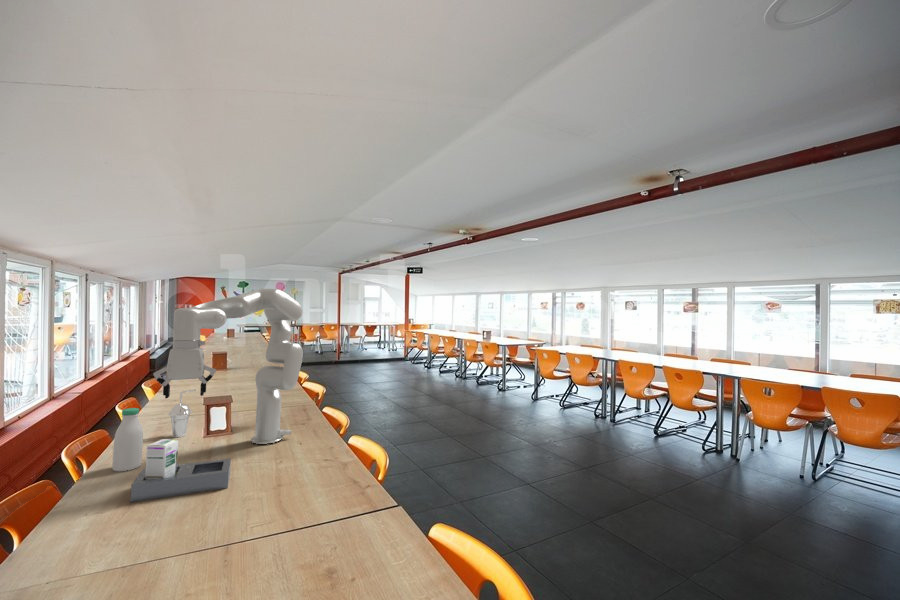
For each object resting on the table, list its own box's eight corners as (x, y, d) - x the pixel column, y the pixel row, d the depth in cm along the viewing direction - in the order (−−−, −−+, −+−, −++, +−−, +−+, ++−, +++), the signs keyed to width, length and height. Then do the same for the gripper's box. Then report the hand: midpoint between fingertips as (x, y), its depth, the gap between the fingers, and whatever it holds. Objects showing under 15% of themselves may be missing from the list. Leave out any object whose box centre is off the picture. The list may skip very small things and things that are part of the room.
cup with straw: (178, 432, 171) (181, 387, 171) (196, 433, 169) (199, 388, 170) (161, 438, 162) (164, 390, 163) (180, 439, 161) (183, 392, 162)
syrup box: (163, 494, 114) (166, 445, 114) (143, 493, 114) (146, 444, 114) (176, 486, 120) (179, 439, 120) (157, 485, 120) (160, 438, 120)
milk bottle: (143, 467, 132) (147, 409, 133) (113, 474, 126) (117, 413, 127) (139, 461, 137) (142, 405, 138) (110, 467, 132) (114, 408, 132)
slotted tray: (230, 473, 130) (231, 458, 130) (227, 488, 119) (228, 471, 120) (141, 485, 119) (142, 468, 120) (130, 502, 109) (131, 484, 109)
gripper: (217, 343, 135) (216, 391, 135) (157, 344, 127) (155, 396, 127) (215, 345, 129) (214, 396, 128) (151, 347, 121) (150, 401, 120)
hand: (185, 396), depth 128 cm, fingers open, 9 cm apart
